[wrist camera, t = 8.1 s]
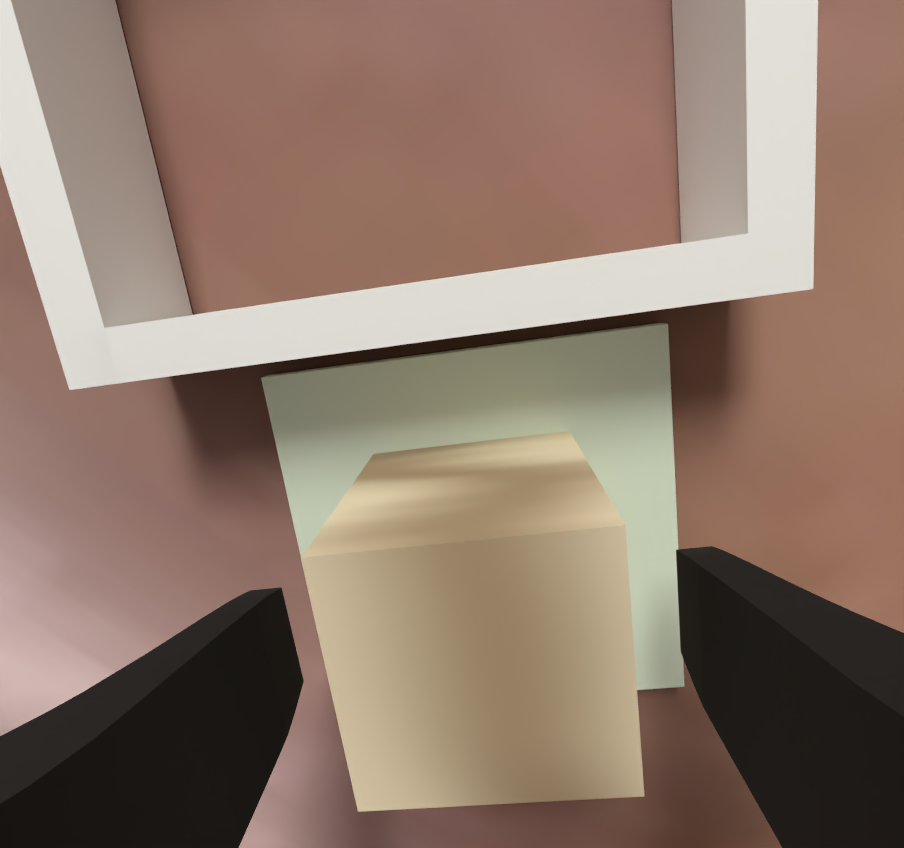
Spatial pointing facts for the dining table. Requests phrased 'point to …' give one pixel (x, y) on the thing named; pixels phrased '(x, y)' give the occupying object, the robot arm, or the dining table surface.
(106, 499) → the dining table surface
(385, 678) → the wood block
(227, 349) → the box
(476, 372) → the pad
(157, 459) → the dining table surface
